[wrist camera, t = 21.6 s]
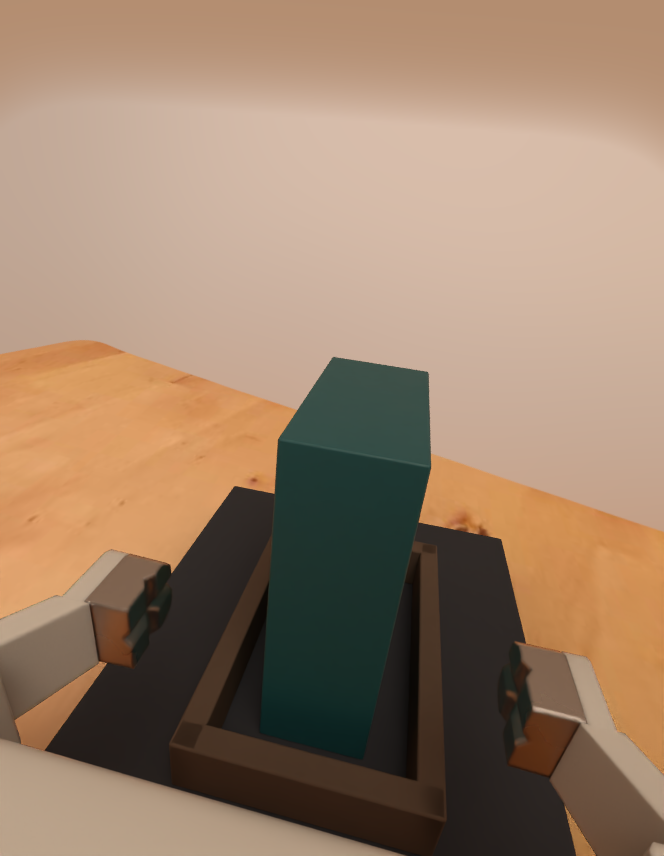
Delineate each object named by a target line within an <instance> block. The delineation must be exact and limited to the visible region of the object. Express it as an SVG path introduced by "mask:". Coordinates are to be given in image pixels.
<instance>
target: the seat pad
mask: <svg viewBox="0 0 664 856" xmlns="http://www.w3.org/2000/svg"><path fill="white" fill-rule="evenodd" d="M274 495H275V494H272V493H267V492H262V491H257V490H252V489H247V488H242V487H237V486H234V488H233V489H232V490H231V492H230V493H229V495H228V496H227V497H226V499H225V500H224V502H223V503H222V504H221V506H220V507H219V509H218V510H217V511H216V513H215V514H214V516H213V517H212V518H211V520H210V521H209V522H208V524H207V525H206V527H205V528H204V529H203V531H202V532H201V534H200V535H199V536H198V538H197V539H196V541H195V542H194V543H193V545H192V546H191V548H190V549H189V550H188V552H187V553H186V555H185V556H184V557H183V559H182V560H181V561H180V563H179V564H178V566H177V567H176V568H175V570H174V571H173V573H172V574H171V577H170V578H169V580H168V581H167V583H168V584H169V586H170V587H171V588H172V596H173V598H172V604H171V608H170V611H169V613H168V616H167V618H166V620H165V622H164V623H163V625H162V627H161V628H160V629H159V630H157V631H155V632H154V633H152V634H150V635H149V641H150V645H149V647H148V648H147V650H146V651H145V653H144V654H143V656H142V657H141V659H140V660H139V662H138V663H137V665H136V666H135V668H134V669H132V668H127V667H123V666H118V665H114V664H110V663H107V665H106V666H105V667H104V669H103V670H102V671H101V673H100V674H99V676H98V677H97V678H96V680H95V681H94V683H93V684H92V685H91V687H90V688H89V690H88V691H87V692H86V694H85V695H84V697H83V698H82V699H81V701H80V702H79V704H78V705H77V706H76V708H75V709H74V710H73V712H72V713H71V715H70V716H69V717H68V719H67V720H66V722H65V723H64V724H63V726H62V727H61V729H60V730H59V731H58V733H57V734H56V736H55V737H54V738H53V740H52V741H51V742H50V744H49V745H48V747H47V748H46V749H45V751H47V752H50V753H54V754H57V755H61V756H64V757H68V758H71V759H75V760H78V761H81V762H85V763H88V764H92V765H95V766H99V767H102V768H106V769H109V770H112V771H116V772H119V773H123V774H126V775H130V776H133V777H137V778H140V779H143V780H147V781H150V782H154V783H157V784H161V785H164V786H168V787H171V788H175V789H178V790H181V791H185V792H188V793H192V794H195V795H199V796H202V797H206V798H209V799H213V800H216V801H219V802H223V803H226V804H230V805H233V806H237V807H240V808H244V809H247V810H251V811H254V812H257V813H261V814H264V815H268V816H271V817H275V818H278V819H282V820H285V821H289V822H292V823H296V824H299V825H302V826H306V827H309V828H313V829H316V830H320V831H323V832H327V833H330V834H333V835H337V836H340V837H344V838H347V839H351V840H354V841H357V842H361V843H364V844H368V845H371V846H375V847H378V848H382V849H385V850H388V851H392V852H395V853H399V854H402V855H406V856H576V853H575V849H574V844H573V840H572V836H571V832H570V828H569V823H568V819H567V815H566V811H565V806H564V803H563V801H562V800H561V798H560V797H559V795H558V793H557V792H556V790H555V789H554V787H553V785H552V784H551V782H550V781H549V780H550V778H548V777H544V776H541V775H537V774H534V773H530V772H527V771H524V770H520V769H517V768H513V767H510V766H507V762H506V755H505V749H504V742H503V736H502V732H503V730H504V727H505V725H506V721H505V720H504V718H503V717H502V716H501V714H500V713H499V708H498V701H497V687H498V679H499V675H500V672H501V669H502V667H503V666H504V665H506V664H508V663H510V661H509V656H508V651H509V649H510V647H511V645H512V644H513V643H514V642H515V641H516V642H520V643H525V644H526V642H525V638H524V634H523V629H522V625H521V621H520V617H519V613H518V608H517V604H516V600H515V596H514V591H513V587H512V583H511V579H510V575H509V570H508V566H507V562H506V558H505V554H504V549H503V545H502V541H501V539H498V538H493V537H488V536H483V535H478V534H473V533H468V532H463V531H458V530H453V529H448V528H443V527H438V526H433V525H428V524H423V523H418V526H417V531H416V535H415V539H414V543H413V548H412V552H411V556H410V561H409V565H408V569H407V574H406V578H405V582H404V586H403V591H402V595H401V599H400V604H399V608H398V612H397V617H396V621H395V625H394V629H393V634H392V638H391V642H390V647H389V651H388V655H387V660H386V664H385V668H384V672H383V677H382V681H381V685H380V690H379V694H378V698H377V703H376V707H375V711H374V715H373V720H372V724H371V728H370V733H369V737H368V741H367V746H366V750H365V754H364V758H363V759H362V760H361V759H357V758H353V757H349V756H345V755H342V754H338V753H334V752H330V751H326V750H323V749H319V748H315V747H311V746H307V745H304V744H300V743H296V742H292V741H288V740H285V739H281V738H277V737H273V736H269V735H266V734H262V733H260V714H261V699H262V683H263V667H264V652H265V636H266V620H267V605H268V589H269V573H270V558H271V542H272V526H273V511H274Z"/></svg>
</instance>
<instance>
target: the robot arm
mask: <svg viewBox="0 0 664 856" xmlns="http://www.w3.org/2000/svg"><path fill="white" fill-rule="evenodd" d="M170 577H171V566H170V565H169V564H168V563H165V562H161V561H157V560H153V559H149V558H145V557H141V556H137V555H133V554H128V553H124V552H120V551H116V550H112V549H111V550H109V551H107V552H105V553H104V554H103V555H102V556H101V557H100V558H99V559H98V560H97V561H96V562H95V563H94V564H93V565H92V566H91V567H90V568H89V569H88V570H87V571H86V572H85V573H84V574H83V575H82V576H81V577H80V578H79V579H78V580H77V581H76V582H75V583H74V584H73V585H72V586H71V588H70V589H69V590H68V591H67V592H66V593H65V594H64V595H63V596H58V595H55V596H53V597H51V598H48V599H46V600H44V601H41V602H39V603H37V604H34V605H32V606H30V607H27V608H25V609H23V610H20V611H18V612H16V613H13V614H11V615H9V616H6V617H4V618H2V619H0V856H406V855H402V854H399V853H395V852H392V851H388V850H385V849H382V848H378V847H375V846H371V845H368V844H364V843H361V842H357V841H354V840H351V839H347V838H344V837H340V836H337V835H333V834H330V833H327V832H323V831H320V830H316V829H313V828H309V827H306V826H302V825H299V824H296V823H292V822H289V821H285V820H282V819H278V818H275V817H271V816H268V815H264V814H261V813H257V812H254V811H251V810H247V809H244V808H240V807H237V806H233V805H230V804H226V803H223V802H219V801H216V800H213V799H209V798H206V797H202V796H199V795H195V794H192V793H188V792H185V791H181V790H178V789H175V788H171V787H168V786H164V785H161V784H157V783H154V782H150V781H147V780H143V779H140V778H137V777H133V776H130V775H126V774H123V773H119V772H116V771H112V770H109V769H106V768H102V767H99V766H95V765H92V764H88V763H85V762H81V761H78V760H75V759H71V758H68V757H64V756H61V755H57V754H54V753H50V752H47V751H43V750H40V749H37V748H33V747H30V746H26V745H23V744H21V739H20V736H19V733H18V730H17V726H16V723H15V720H16V719H17V718H18V717H20V716H21V715H23V714H24V713H26V712H27V711H29V710H30V709H32V708H33V707H35V706H36V705H38V704H39V703H41V702H42V701H44V700H45V699H47V698H48V697H50V696H51V695H53V694H54V693H56V692H57V691H59V690H60V689H61V688H63V687H64V686H66V685H67V684H69V683H70V682H72V681H73V680H75V679H76V678H78V677H79V676H81V675H82V674H84V673H85V672H87V671H88V670H90V669H91V668H93V667H94V666H96V665H97V664H98V663H99V661H101V662H105V663H110V664H114V665H118V666H123V667H127V668H132V669H134V668H135V666H136V665H137V663H138V662H139V660H140V659H141V657H142V656H143V654H144V653H145V651H146V650H147V648H148V647H149V645H150V641H149V635H150V634H152V633H154V632H155V631H157V630H159V629H160V628H161V627H162V625H163V623H164V622H165V620H166V618H167V616H168V613H169V611H170V608H171V604H172V598H173V596H172V588H171V587H170V586H169V584H168V583H167V581H168V580H169V578H170ZM508 656H509V661H510V663H508V664H506V665H504V666H503V667H502V669H501V672H500V675H499V679H498V687H497V701H498V708H499V713H500V714H501V716H502V717H503V718H504V720H505V721H506V725H505V727H504V730H503V732H502V736H503V742H504V749H505V755H506V762H507V766H510V767H513V768H517V769H520V770H524V771H527V772H530V773H534V774H537V775H541V776H544V777H548V778H550V780H549V781H550V782H551V784H552V785H553V787H554V789H555V790H556V792H557V793H558V795H559V797H560V798H561V800H562V801H563V803H564V805H565V806H566V808H567V809H568V811H569V813H570V814H571V816H572V817H573V819H574V821H575V822H576V824H577V825H578V827H579V829H580V830H581V832H582V833H583V835H584V837H585V838H586V840H587V841H588V843H589V845H590V846H591V848H592V849H593V851H594V853H595V854H596V856H664V775H663V774H662V773H661V771H660V770H659V769H658V768H657V767H656V766H655V765H654V764H653V763H652V762H651V761H650V760H649V759H648V758H647V757H646V755H645V754H644V753H643V752H642V751H641V750H640V749H639V748H638V747H637V746H636V745H635V744H634V743H633V742H632V741H631V739H630V738H629V737H628V736H627V735H626V734H624V733H621V732H617V729H616V727H615V724H614V722H613V719H612V716H611V714H610V711H609V709H608V706H607V703H606V701H605V698H604V695H603V693H602V690H601V688H600V685H599V682H598V680H597V677H596V674H595V672H594V669H593V667H592V664H591V662H590V660H589V659H588V658H587V657H585V656H580V655H575V654H571V653H566V652H560V651H557V650H553V649H548V648H543V647H539V646H534V645H530V644H525V643H520V642H516V641H515V642H514V643H513V644H512V645H511V647H510V649H509V651H508Z"/></svg>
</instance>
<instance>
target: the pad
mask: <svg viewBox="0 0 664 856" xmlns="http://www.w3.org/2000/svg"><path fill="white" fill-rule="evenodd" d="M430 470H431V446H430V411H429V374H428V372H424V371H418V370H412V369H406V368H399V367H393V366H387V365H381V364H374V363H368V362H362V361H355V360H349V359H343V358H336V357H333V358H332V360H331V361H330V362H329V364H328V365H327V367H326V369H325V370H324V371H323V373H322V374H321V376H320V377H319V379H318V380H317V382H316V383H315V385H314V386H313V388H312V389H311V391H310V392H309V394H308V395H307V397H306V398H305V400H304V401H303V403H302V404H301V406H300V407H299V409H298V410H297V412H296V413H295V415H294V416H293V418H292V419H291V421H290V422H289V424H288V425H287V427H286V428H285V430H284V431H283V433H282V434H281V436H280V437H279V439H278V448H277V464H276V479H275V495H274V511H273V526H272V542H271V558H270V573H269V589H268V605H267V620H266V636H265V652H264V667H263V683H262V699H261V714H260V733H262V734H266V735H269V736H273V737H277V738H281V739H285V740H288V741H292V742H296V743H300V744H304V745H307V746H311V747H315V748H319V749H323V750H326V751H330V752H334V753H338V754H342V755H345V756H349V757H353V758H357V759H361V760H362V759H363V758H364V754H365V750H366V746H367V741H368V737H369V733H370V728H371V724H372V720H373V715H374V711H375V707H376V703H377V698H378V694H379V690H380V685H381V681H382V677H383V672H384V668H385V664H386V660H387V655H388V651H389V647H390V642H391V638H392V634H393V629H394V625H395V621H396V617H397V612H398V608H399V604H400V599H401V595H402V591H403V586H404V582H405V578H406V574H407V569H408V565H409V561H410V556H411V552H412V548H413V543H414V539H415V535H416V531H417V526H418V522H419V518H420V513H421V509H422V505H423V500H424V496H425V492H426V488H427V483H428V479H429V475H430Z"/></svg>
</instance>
